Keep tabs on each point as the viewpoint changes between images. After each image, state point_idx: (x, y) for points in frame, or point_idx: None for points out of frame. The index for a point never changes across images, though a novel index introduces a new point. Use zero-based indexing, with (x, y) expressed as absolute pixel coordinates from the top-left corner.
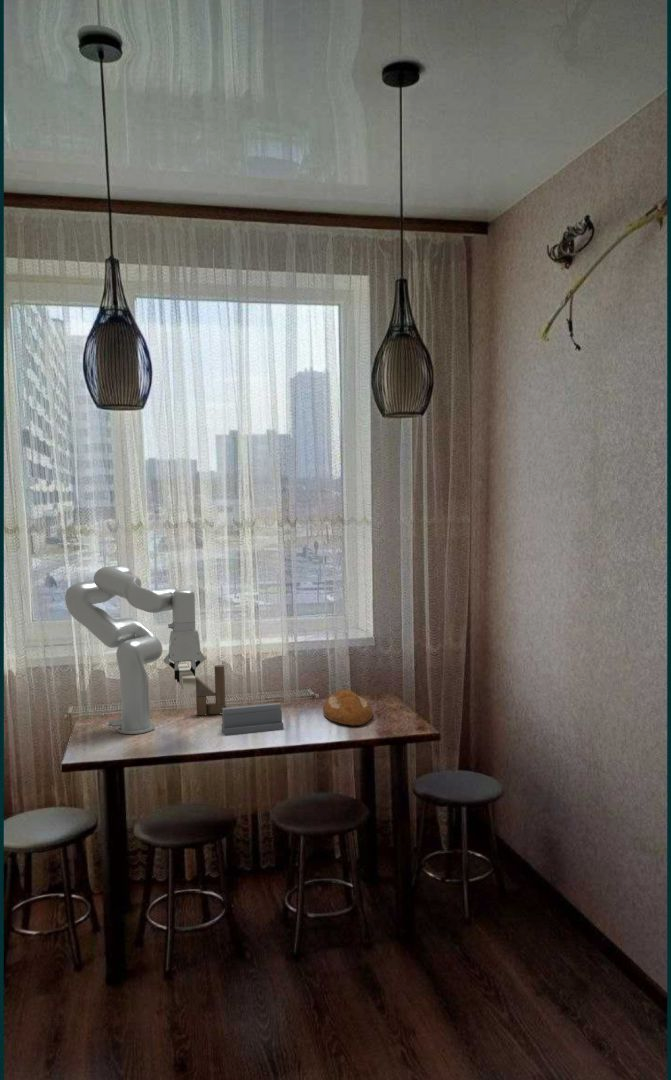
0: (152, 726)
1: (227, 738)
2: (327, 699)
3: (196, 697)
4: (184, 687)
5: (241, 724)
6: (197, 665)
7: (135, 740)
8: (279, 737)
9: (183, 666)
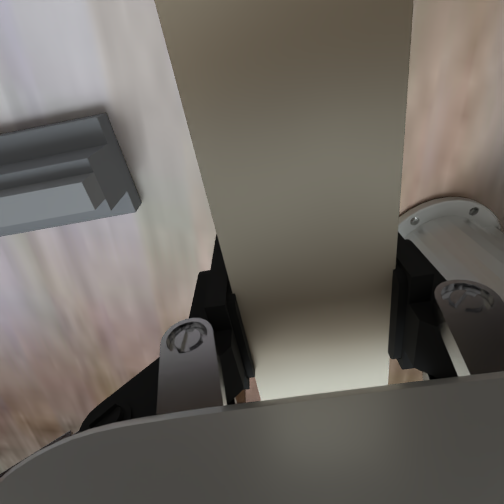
0: None
1: (83, 54)
2: None
3: (243, 401)
4: None
5: (33, 160)
6: (141, 379)
7: (465, 112)
8: None
9: None
